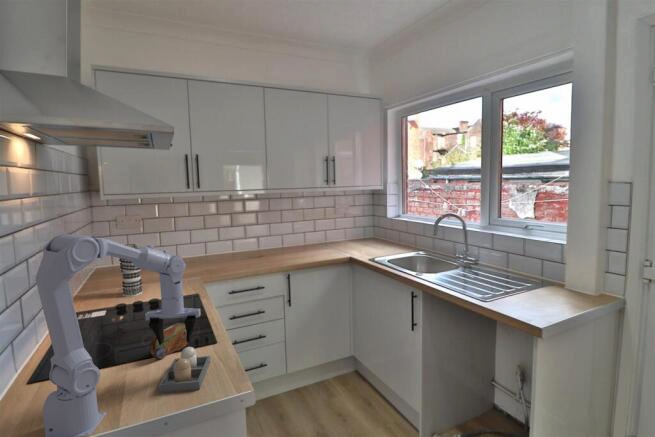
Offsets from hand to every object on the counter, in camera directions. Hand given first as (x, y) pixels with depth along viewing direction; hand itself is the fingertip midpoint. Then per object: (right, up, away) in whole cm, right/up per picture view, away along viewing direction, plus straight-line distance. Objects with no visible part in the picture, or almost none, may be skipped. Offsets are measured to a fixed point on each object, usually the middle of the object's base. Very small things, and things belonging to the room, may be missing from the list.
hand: (175, 341), depth 102 cm
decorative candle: (-53, -2, +74) cm, 91 cm away
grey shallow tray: (+4, -10, -2) cm, 11 cm away
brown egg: (+5, -9, -5) cm, 12 cm away
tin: (-7, -8, +14) cm, 17 cm away
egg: (+4, -9, +1) cm, 9 cm away
